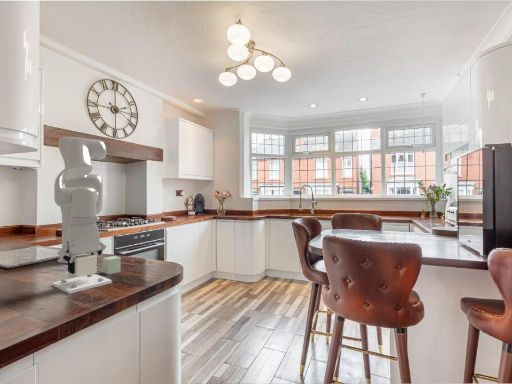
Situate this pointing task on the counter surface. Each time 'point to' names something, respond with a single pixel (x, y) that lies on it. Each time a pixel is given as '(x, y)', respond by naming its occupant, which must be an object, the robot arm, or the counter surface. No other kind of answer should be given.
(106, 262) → the sage block
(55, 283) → the plate
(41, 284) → the counter surface
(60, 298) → the counter surface
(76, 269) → the cream block
